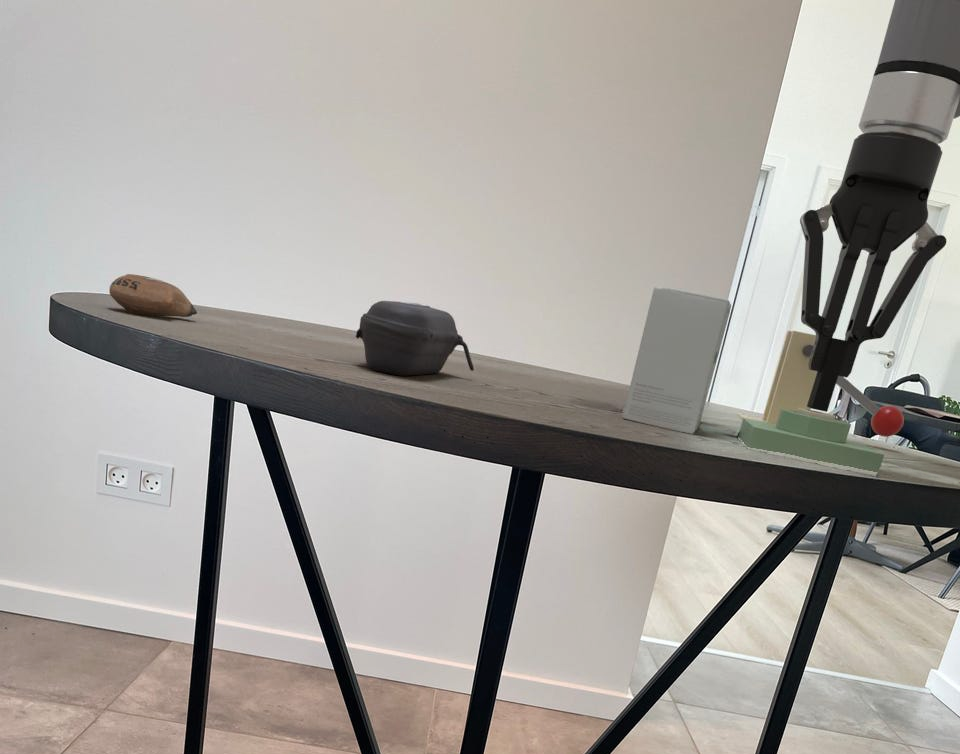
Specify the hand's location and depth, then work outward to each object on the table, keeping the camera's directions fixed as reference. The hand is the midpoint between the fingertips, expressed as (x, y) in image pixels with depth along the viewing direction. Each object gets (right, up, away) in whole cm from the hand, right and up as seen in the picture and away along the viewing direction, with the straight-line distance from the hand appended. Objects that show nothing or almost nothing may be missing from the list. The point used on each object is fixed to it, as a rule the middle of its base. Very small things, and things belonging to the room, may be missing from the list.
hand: (816, 408), depth 92 cm
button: (0, -2, +1) cm, 2 cm away
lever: (+10, +6, +22) cm, 25 cm away
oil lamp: (-67, +12, +11) cm, 69 cm away
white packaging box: (-14, -1, +5) cm, 15 cm away
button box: (-1, -4, +2) cm, 5 cm away
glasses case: (-39, +5, +6) cm, 40 cm away
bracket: (+4, +3, +24) cm, 24 cm away
